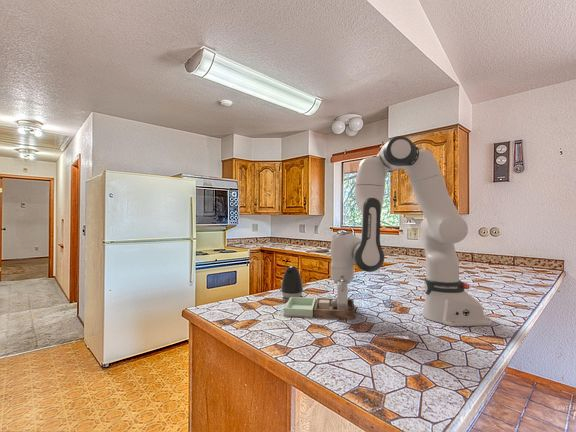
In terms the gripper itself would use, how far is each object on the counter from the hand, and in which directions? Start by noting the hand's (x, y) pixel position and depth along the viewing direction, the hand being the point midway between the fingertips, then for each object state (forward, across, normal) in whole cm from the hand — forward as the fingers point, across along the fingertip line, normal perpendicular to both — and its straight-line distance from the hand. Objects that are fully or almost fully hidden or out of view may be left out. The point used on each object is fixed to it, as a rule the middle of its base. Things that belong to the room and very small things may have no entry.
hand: (342, 309), depth 117 cm
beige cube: (+1, 0, +7) cm, 7 cm away
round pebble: (+1, +6, +3) cm, 6 cm away
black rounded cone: (+2, +19, +23) cm, 30 cm away
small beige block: (+1, 0, 0) cm, 1 cm away
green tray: (+2, +1, +16) cm, 17 cm away
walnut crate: (+2, +1, +3) cm, 4 cm away
